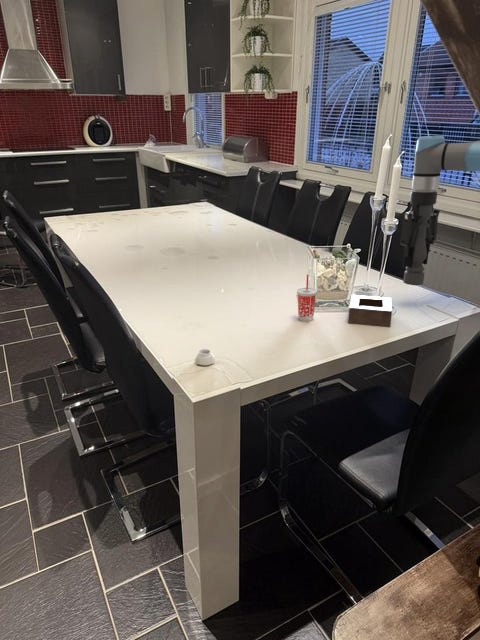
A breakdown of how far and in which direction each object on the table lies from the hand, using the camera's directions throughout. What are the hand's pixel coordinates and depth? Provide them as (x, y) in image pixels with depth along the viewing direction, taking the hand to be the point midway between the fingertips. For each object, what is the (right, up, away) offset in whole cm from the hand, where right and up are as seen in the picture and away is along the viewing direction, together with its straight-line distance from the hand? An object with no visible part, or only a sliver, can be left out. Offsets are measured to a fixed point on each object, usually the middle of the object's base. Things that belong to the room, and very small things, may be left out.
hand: (415, 264), depth 149 cm
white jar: (-65, -29, -32) cm, 78 cm away
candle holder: (0, -6, +2) cm, 6 cm away
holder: (-16, -17, -5) cm, 24 cm away
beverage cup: (-36, -17, -5) cm, 40 cm away
